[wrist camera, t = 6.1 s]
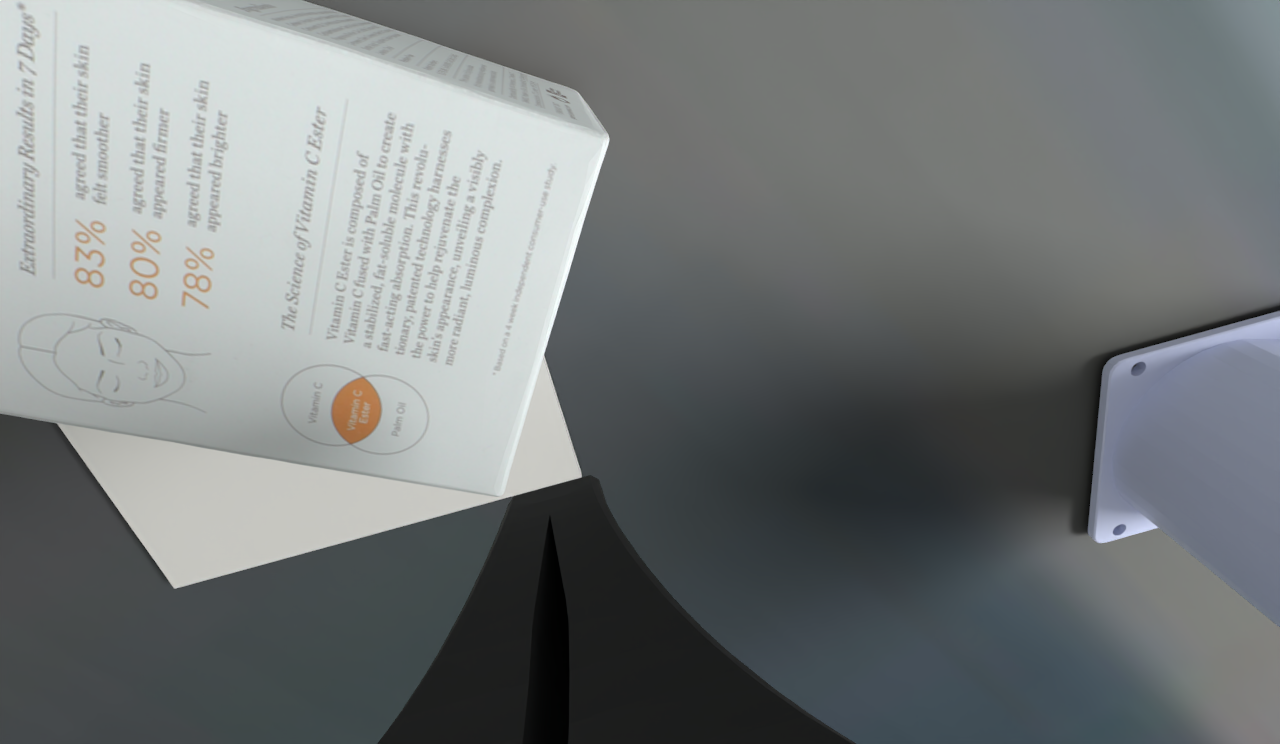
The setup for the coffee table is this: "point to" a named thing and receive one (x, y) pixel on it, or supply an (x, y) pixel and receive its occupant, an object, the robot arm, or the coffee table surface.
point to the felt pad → (286, 495)
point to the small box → (281, 233)
